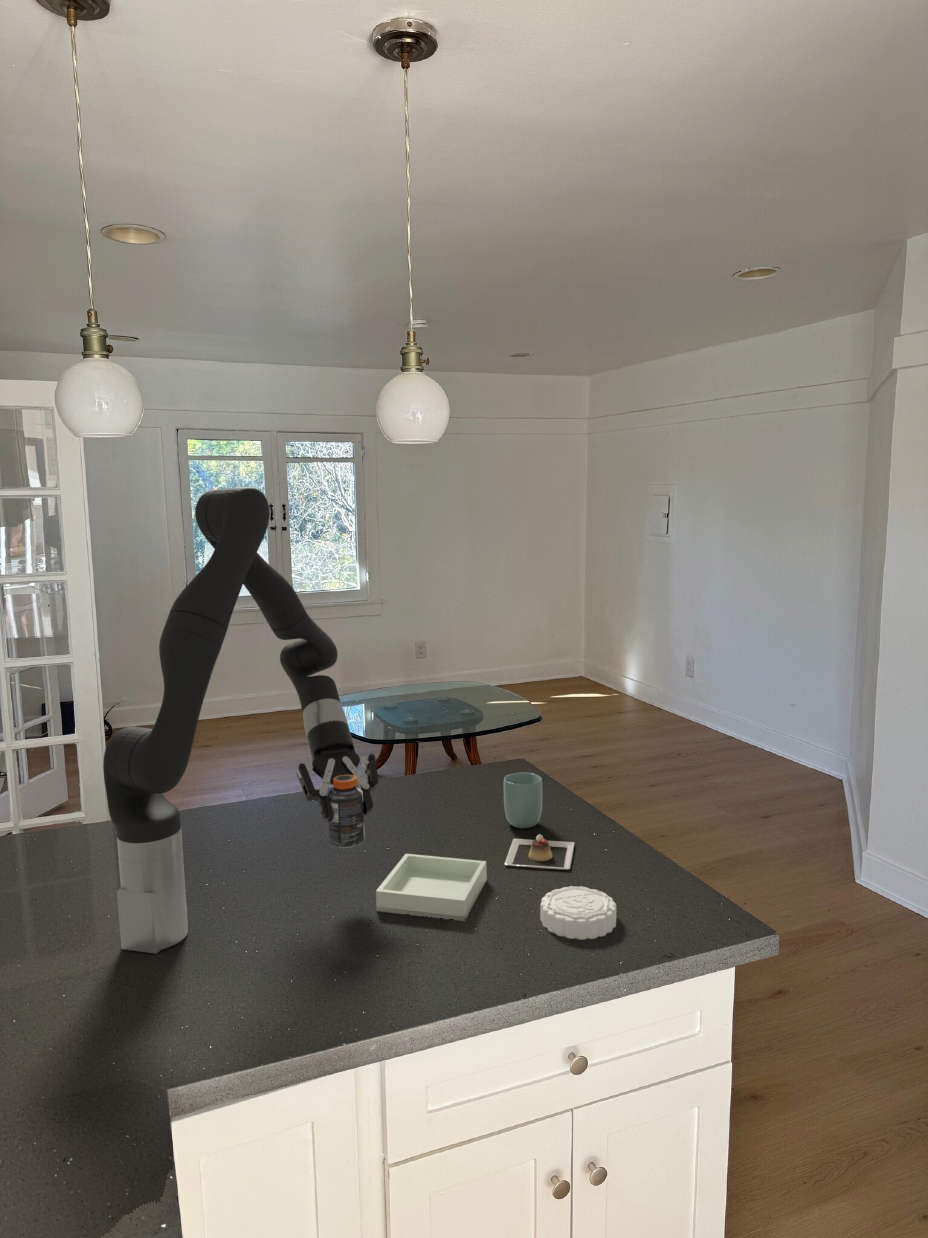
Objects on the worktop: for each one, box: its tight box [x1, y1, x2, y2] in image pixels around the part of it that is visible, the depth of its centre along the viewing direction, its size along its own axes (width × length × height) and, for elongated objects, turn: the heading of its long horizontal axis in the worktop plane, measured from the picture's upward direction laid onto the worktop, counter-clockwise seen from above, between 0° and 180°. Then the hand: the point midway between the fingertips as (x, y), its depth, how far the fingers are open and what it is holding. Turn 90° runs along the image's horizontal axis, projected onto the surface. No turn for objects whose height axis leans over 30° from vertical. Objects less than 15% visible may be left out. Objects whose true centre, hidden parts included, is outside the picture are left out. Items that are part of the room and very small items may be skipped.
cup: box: [503, 771, 543, 829], centre depth 171 cm, size 8×8×10 cm
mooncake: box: [539, 885, 617, 941], centre depth 132 cm, size 12×12×4 cm
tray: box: [375, 853, 488, 922], centre depth 141 cm, size 15×15×4 cm
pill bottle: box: [327, 775, 366, 849], centre depth 140 cm, size 6×6×11 cm
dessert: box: [504, 833, 575, 871], centre depth 156 cm, size 12×12×5 cm
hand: (349, 816), depth 138 cm, fingers closed on pill bottle, 6 cm apart
